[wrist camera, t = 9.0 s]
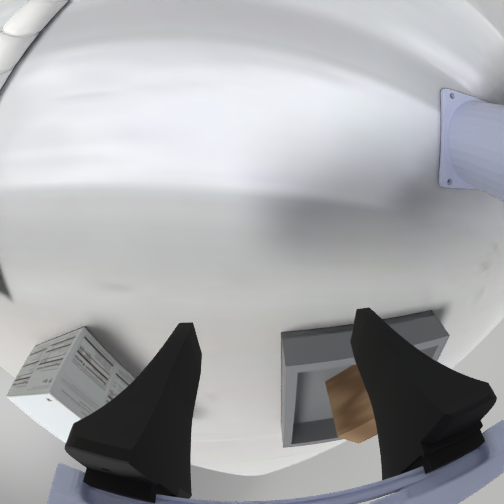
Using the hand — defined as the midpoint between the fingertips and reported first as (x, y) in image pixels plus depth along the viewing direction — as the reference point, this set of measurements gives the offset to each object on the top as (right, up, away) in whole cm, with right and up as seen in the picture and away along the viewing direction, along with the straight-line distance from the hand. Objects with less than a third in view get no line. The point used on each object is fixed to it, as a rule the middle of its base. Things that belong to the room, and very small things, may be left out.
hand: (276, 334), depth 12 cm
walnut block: (+10, -10, +15) cm, 21 cm away
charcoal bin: (+10, -11, +16) cm, 22 cm away
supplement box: (-21, -13, +17) cm, 30 cm away
